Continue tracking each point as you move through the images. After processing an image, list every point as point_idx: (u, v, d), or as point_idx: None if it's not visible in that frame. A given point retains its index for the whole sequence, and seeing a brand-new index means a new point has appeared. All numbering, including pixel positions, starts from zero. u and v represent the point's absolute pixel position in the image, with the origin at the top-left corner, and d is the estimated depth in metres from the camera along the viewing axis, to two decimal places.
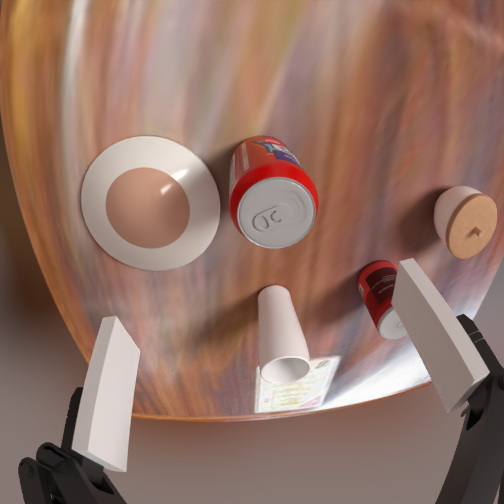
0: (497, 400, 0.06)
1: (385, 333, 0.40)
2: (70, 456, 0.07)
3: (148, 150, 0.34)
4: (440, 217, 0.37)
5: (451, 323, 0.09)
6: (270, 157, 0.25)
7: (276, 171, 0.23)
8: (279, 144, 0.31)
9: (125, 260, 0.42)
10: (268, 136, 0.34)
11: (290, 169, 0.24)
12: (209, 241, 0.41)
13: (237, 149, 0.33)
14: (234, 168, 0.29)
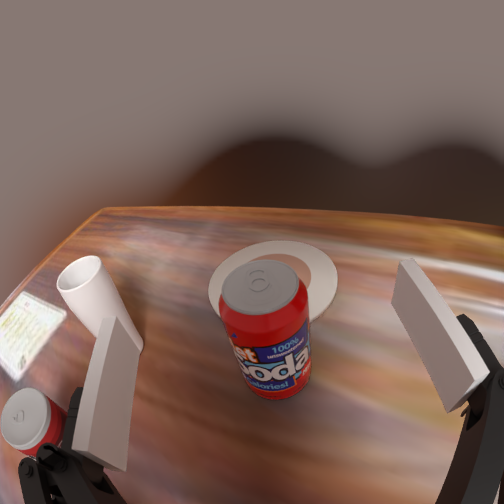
0: (497, 400, 0.06)
1: (23, 394, 0.22)
2: (70, 456, 0.07)
3: (323, 290, 0.42)
4: None
5: (451, 323, 0.09)
6: (308, 316, 0.26)
7: (301, 296, 0.24)
8: (303, 369, 0.28)
9: (236, 254, 0.53)
10: (308, 378, 0.31)
11: (298, 309, 0.24)
12: (219, 313, 0.42)
13: None
14: None
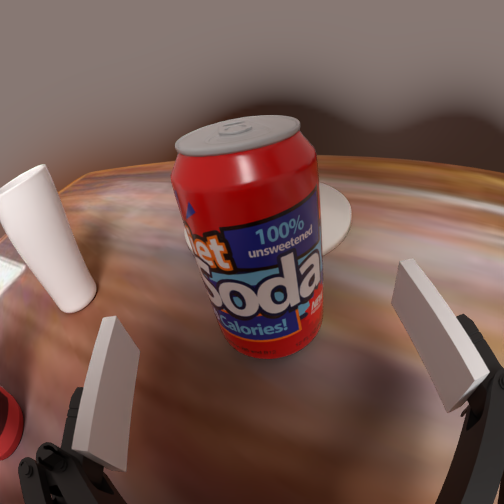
0: (497, 400, 0.06)
1: None
2: (70, 456, 0.07)
3: (333, 221, 0.32)
4: None
5: (451, 323, 0.09)
6: (318, 190, 0.15)
7: (304, 143, 0.14)
8: (313, 299, 0.18)
9: None
10: (319, 325, 0.20)
11: (301, 157, 0.13)
12: None
13: None
14: None
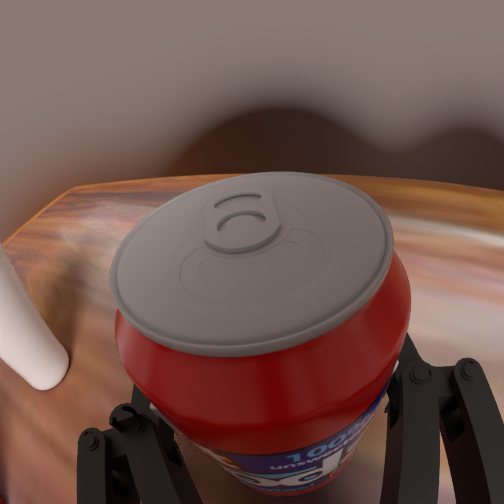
0: (412, 396, 0.07)
1: None
2: (150, 421, 0.08)
3: None
4: None
5: None
6: None
7: (397, 271, 0.06)
8: (353, 452, 0.10)
9: None
10: None
11: (396, 323, 0.05)
12: None
13: None
14: None
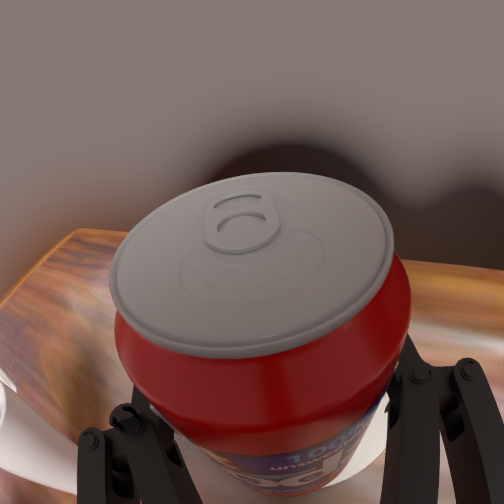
0: (412, 396, 0.07)
1: None
2: (150, 421, 0.08)
3: (382, 416, 0.22)
4: None
5: None
6: None
7: (398, 272, 0.06)
8: (353, 453, 0.10)
9: None
10: None
11: (397, 324, 0.05)
12: None
13: None
14: None
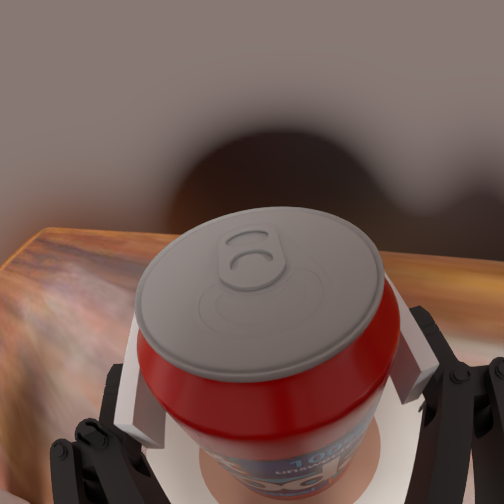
0: (451, 395, 0.07)
1: None
2: (113, 434, 0.08)
3: (406, 480, 0.12)
4: None
5: (401, 313, 0.10)
6: None
7: (388, 304, 0.07)
8: (351, 459, 0.11)
9: None
10: None
11: (386, 350, 0.06)
12: None
13: None
14: None
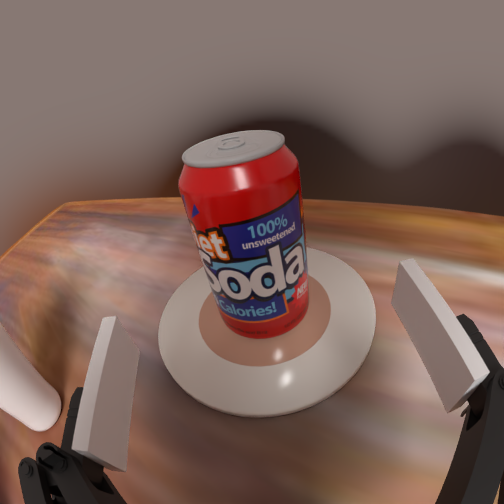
0: (497, 400, 0.06)
1: None
2: (70, 456, 0.07)
3: (352, 334, 0.23)
4: None
5: (451, 323, 0.09)
6: (300, 193, 0.19)
7: (288, 155, 0.17)
8: (298, 286, 0.21)
9: None
10: (305, 310, 0.24)
11: (284, 168, 0.17)
12: (171, 371, 0.23)
13: None
14: None
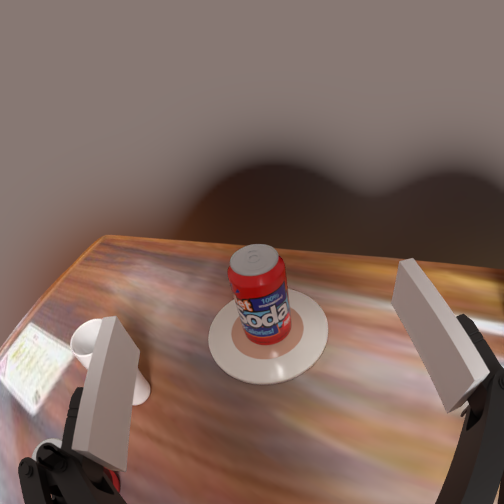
0: (497, 400, 0.06)
1: None
2: (70, 456, 0.07)
3: (313, 343, 0.45)
4: None
5: (451, 323, 0.09)
6: (285, 280, 0.41)
7: (279, 266, 0.39)
8: (284, 320, 0.43)
9: (234, 302, 0.55)
10: (289, 330, 0.46)
11: (277, 274, 0.38)
12: (219, 363, 0.45)
13: None
14: None
